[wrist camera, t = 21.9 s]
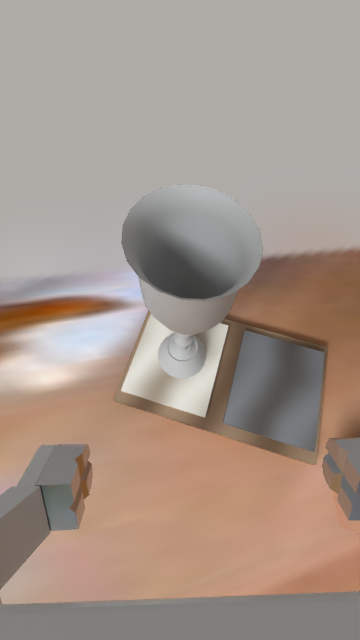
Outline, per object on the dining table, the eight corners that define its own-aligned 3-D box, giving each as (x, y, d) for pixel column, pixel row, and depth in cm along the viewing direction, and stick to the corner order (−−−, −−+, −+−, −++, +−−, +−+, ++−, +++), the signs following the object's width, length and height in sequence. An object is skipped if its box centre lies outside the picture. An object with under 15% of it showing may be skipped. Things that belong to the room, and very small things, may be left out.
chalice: (138, 338, 31) (100, 207, 15) (194, 313, 33) (215, 170, 17) (167, 401, 29) (159, 325, 12) (227, 371, 30) (292, 267, 14)
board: (115, 401, 30) (112, 398, 29) (153, 302, 35) (152, 296, 34) (311, 464, 28) (319, 465, 27) (323, 350, 33) (329, 345, 32)
